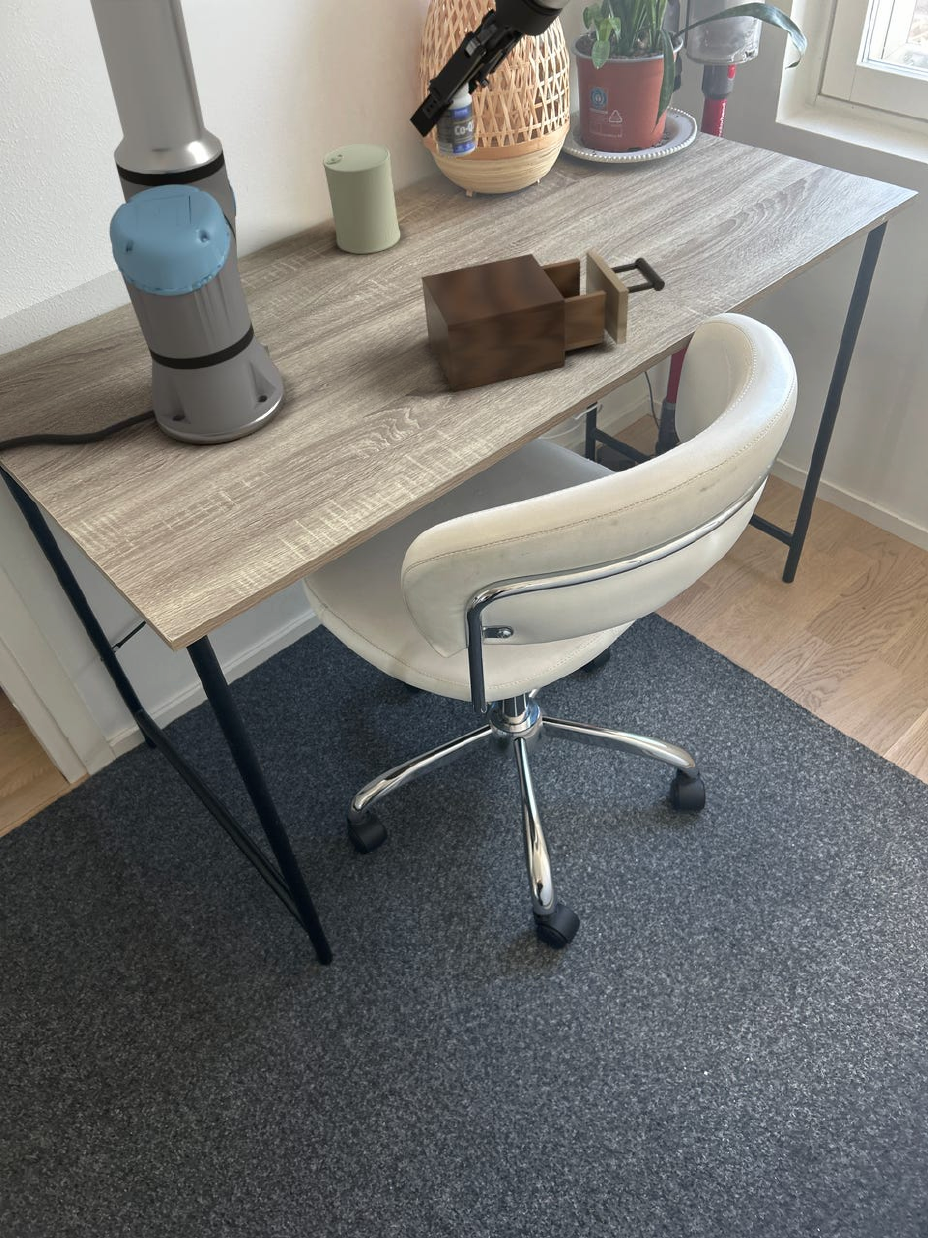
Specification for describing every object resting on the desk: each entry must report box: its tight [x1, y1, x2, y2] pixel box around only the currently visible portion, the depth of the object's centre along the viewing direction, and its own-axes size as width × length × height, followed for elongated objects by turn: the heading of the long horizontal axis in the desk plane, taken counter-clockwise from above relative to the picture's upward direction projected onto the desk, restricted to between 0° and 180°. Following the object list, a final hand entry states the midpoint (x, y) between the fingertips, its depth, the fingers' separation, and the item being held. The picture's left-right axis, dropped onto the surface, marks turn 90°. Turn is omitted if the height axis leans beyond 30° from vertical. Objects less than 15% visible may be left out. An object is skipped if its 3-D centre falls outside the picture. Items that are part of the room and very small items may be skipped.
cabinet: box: [421, 253, 566, 393], centre depth 115 cm, size 14×12×9 cm
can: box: [322, 142, 401, 255], centre depth 136 cm, size 9×9×12 cm
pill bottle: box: [435, 83, 476, 158], centre depth 122 cm, size 5×5×8 cm
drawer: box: [540, 249, 666, 352], centre depth 116 cm, size 18×10×7 cm, turn 106°
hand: (430, 119), depth 124 cm, fingers closed on pill bottle, 5 cm apart
